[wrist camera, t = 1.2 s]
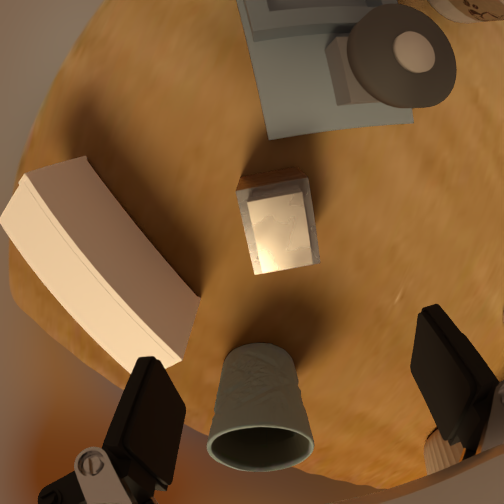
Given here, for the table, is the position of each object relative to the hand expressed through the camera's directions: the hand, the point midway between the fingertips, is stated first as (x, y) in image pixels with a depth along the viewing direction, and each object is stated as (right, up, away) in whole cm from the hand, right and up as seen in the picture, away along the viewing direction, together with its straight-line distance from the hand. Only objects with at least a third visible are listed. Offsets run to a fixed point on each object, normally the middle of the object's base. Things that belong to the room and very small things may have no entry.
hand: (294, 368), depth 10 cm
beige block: (+1, +8, +17) cm, 19 cm away
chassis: (+4, +25, +10) cm, 27 cm away
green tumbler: (0, -10, +25) cm, 27 cm away
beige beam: (-14, +4, +19) cm, 24 cm away
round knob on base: (+7, +17, +8) cm, 20 cm away
